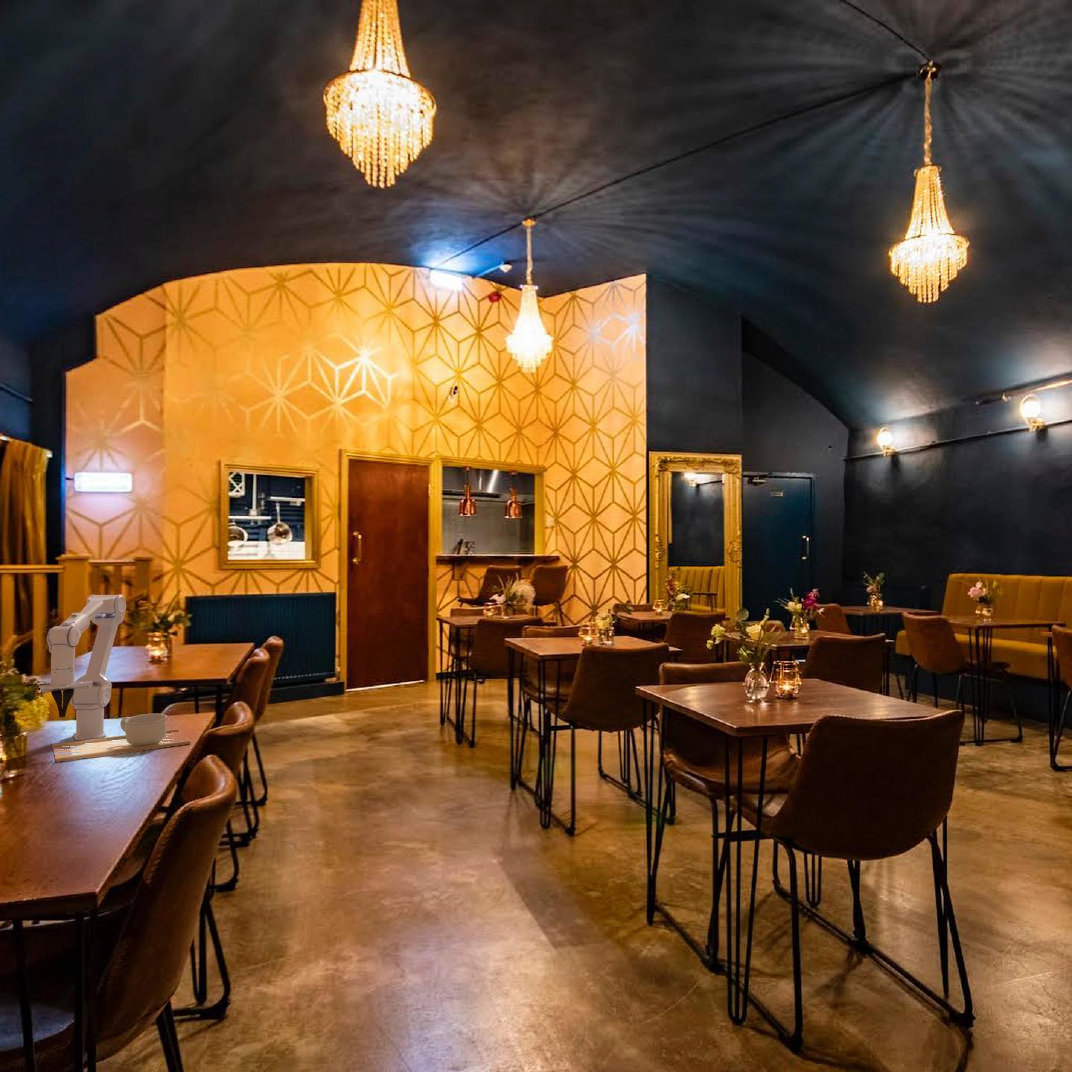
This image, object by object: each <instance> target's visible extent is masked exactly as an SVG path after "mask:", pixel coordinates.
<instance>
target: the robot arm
mask: <svg viewBox="0 0 1072 1072" xmlns="http://www.w3.org/2000/svg"><path fill="white" fill-rule="evenodd" d="M126 609H127V602H126V598H125V596H124V595H123V594H100V595H99V594H90V595H89V596H88V597H87V598H86V602H85V606H84V607H83V609H81V610H80V612H71V614H70V616H69V617H67V619H65V620H64V621H63V622H62V623H61V624H60V625H59V626H58V625H57V626H53V627H52V628H49V630H48V632H47V636H46V643H47V646H48V652H49V653H50V654H51V655H50V658H51V659H50V683H48V684H47V683H46V684H42V685H41V684H40V685H38V686H39V688H40V690H41V692H42V693H41V694H43V693H51V696H52V698H53V700H54V701H55V704H56V707H57V711H58V718H65V717H66V714H67V710H68V707H69V704H71V706H72V707H73V709H74V710H76V711H75V712H76V714H75V715H76V717H75V718H76V719H75V720H76V721H75V725H76V726H75V727H76V728H75V729H76V731H75V733H73V734H72V736H73V738H74V740H75V741H76V740H78V741H82V740H91V739H99V738H107V734H106V732H105V731H104V726H105V725H104V723H105V722H104V721H105V720H104V719H105V707H107V705H108V704H109V703H110V701H111V698H112V688H113V687H112V686H113V684H112V682H111V681H110V679H108V678H107V677H106V672H107V667H108V664H109V661H110V656H111V653H112V648H113V645H114V642H115V638H116V635H117V630H118V627H119V625H120V624H122V623H123V620H124V618H125V613H126ZM90 622H92V624H94V625H96V626H98V629H97V633H96V637H95V640H94V644H93V647H92V651H91V654H90V658H89V660H88V666H87V668H86V673H85V674H84V675H82V676H80V677H79V678H77V679H75V671H76V670H75V669H76V668H75V667H76V663H75V662H76V661H75V660H76V646H77V645H79V642H80V638H81V637H82V634H83V633H84V632H85V631H86V630H88V628H89V627H90V626H91V625H90Z"/></svg>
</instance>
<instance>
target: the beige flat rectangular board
mask: <svg viewBox="0 0 1072 1072" xmlns="http://www.w3.org/2000/svg"><path fill="white" fill-rule="evenodd" d="M171 732H180V731H179V728H174V729H173V728H171V729H166V733H171ZM166 735H172V734H166ZM173 735H174V734H173ZM166 737H168V736H166ZM112 740H125V741H115V742H114V741H112ZM163 740H174V739H163ZM186 740H187V739H186ZM85 743H94V744H85ZM108 743H128V742H127V739H126V734H124V735H116V736H108V737H107V736H106V737H102V738H94V739H86V740H78V741H76V740H75V741H67V742H61V743H60V742H59V743H52V746H51V747H53V748H52V752H53V751H54V752H85V753H54V752H53V755H75V756H54V759H55V763H56V762H57V763H61V762H60V761H64V762H71V761H76V760H75V759H79V760H82V759H81V758H86V759H92V758H99V757H100V756H101V757H106V756H105V755H108V756H115V755H114V754H116V755H121V754H120V753H123V754H127V753H126V752H130V753H135V752H136V753H137V751H138V752H143V750H145V751H150V750H149V749H152V750H158V748H160V749H165V748H164V747H167V748H170V747H169V746H174V747H179V746H178V745H182V746H186V745H185V744H189V745H191V740H190V739H189V740H187V741H180V742H169V741H168V742H162V741H160V744H157V745H150V746H142V747H134V746H133V745H131V744H130V743H128V744H108ZM161 743H162V744H161ZM163 743H165V744H163ZM62 746H69V747H62ZM70 746H75V747H70ZM76 746H81V747H76ZM82 746H84V747H82ZM85 746H86V747H85ZM87 746H90V747H87ZM91 746H92V747H91ZM94 746H95V747H94ZM101 746H103V747H101ZM105 746H107V747H105ZM108 746H109V747H108ZM111 746H112V747H111ZM53 749H64V750H53ZM65 749H66V750H65ZM67 749H72V750H67ZM73 749H74V750H73ZM75 749H81V750H75ZM82 749H83V750H82ZM89 749H90V750H89ZM91 749H92V750H91Z"/></svg>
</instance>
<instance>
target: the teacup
mask: <svg viewBox="0 0 1072 1072" xmlns="http://www.w3.org/2000/svg"><path fill="white" fill-rule="evenodd" d="M167 718H168V716H167V714H164V713H146V714H145V713H144V714H138V715H134V716H126V717H123V718H122V719H121V720H120V728H121V730H122V731H123V732H124V733H125V735H126V739H127V742H128V743H130V744H131V745H133V746H134V747H142V746H150V745H157V744H158V743H160V741H161V740H163V739H164V737H165V735H166V730H167Z"/></svg>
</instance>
